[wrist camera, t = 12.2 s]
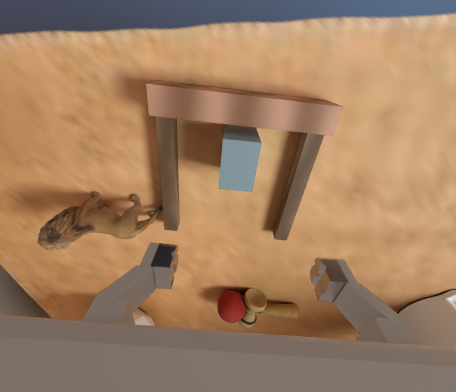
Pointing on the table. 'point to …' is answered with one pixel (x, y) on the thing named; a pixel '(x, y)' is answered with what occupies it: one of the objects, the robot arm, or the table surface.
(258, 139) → the block
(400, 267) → the table surface
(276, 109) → the stop channel
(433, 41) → the table surface
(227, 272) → the table surface
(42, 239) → the lion figurine
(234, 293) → the kendama
